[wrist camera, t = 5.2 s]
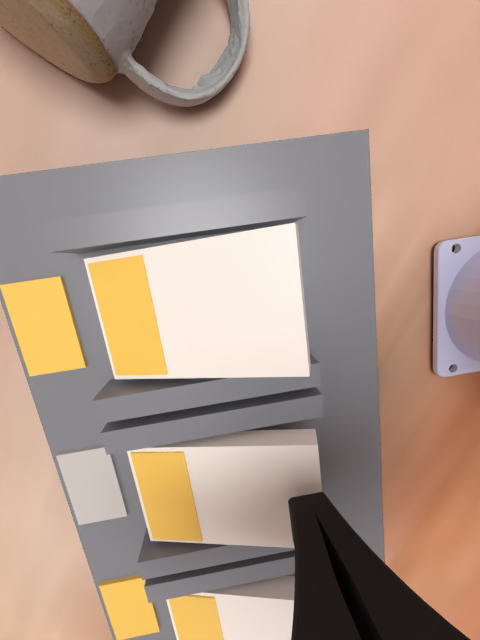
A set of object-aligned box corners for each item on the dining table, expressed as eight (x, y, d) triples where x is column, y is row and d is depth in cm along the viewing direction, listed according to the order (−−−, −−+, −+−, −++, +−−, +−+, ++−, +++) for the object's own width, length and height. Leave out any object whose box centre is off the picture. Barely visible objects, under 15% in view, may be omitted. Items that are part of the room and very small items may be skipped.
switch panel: (337, 155, 14) (399, 102, 10) (362, 576, 21) (408, 675, 16) (15, 197, 14) (-97, 163, 9) (141, 622, 20) (117, 741, 15)
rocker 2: (315, 428, 12) (318, 446, 11) (324, 526, 13) (327, 551, 12) (137, 433, 13) (124, 449, 12) (159, 520, 14) (149, 542, 13)
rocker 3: (329, 578, 13) (332, 605, 12) (336, 653, 14) (340, 684, 13) (171, 567, 15) (162, 591, 14) (188, 635, 16) (181, 662, 15)
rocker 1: (297, 224, 9) (294, 222, 8) (310, 364, 10) (309, 377, 9) (102, 257, 12) (81, 258, 11) (129, 369, 13) (113, 380, 12)
